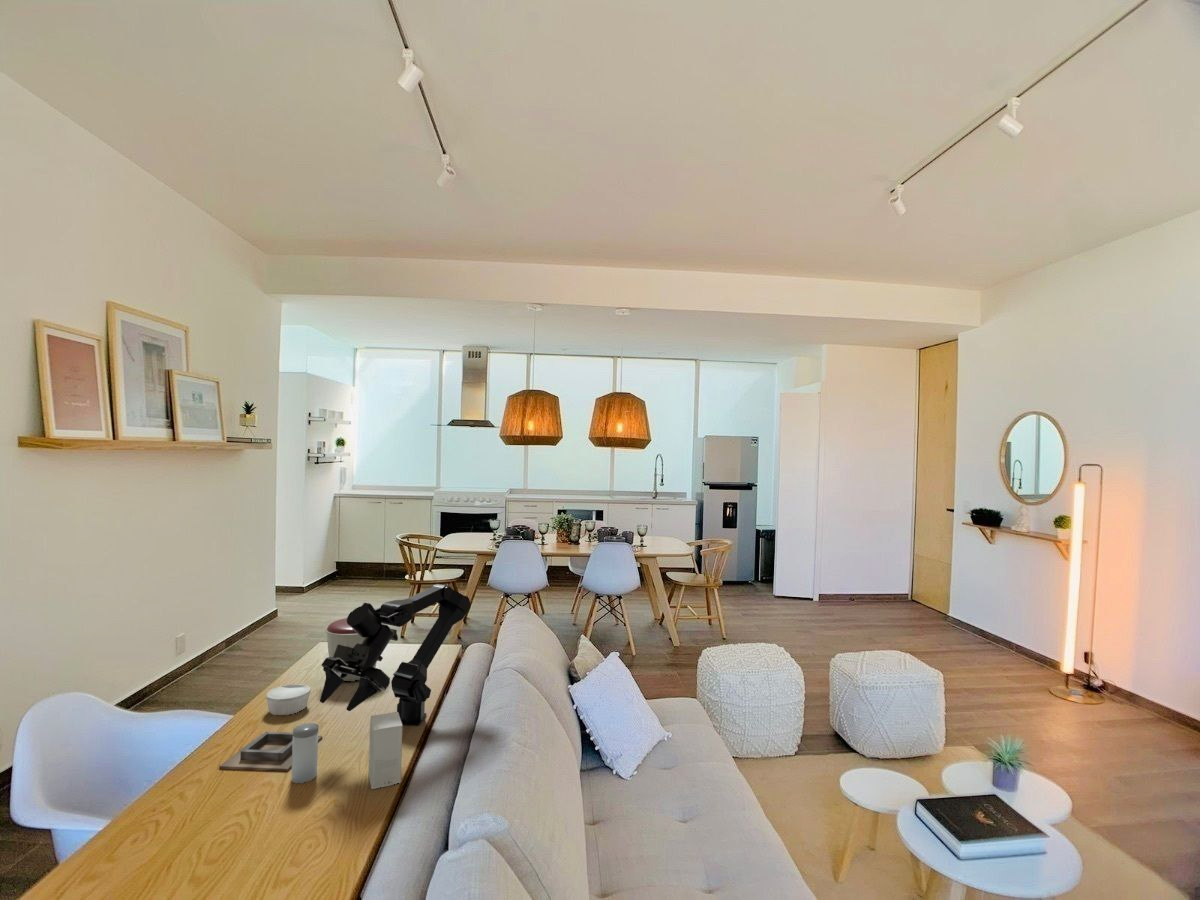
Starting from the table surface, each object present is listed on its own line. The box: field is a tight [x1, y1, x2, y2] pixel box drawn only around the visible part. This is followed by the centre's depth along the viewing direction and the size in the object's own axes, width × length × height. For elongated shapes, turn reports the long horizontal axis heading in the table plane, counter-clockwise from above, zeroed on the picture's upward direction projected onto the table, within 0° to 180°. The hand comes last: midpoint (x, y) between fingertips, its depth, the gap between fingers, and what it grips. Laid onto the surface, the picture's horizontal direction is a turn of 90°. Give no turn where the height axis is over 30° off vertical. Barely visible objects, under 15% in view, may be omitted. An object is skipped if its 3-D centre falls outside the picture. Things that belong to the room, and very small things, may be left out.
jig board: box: [218, 731, 323, 772], centre depth 142 cm, size 16×16×3 cm
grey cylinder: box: [290, 722, 319, 784], centre depth 132 cm, size 5×5×11 cm
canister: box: [324, 617, 385, 682], centre depth 192 cm, size 18×18×21 cm
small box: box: [367, 711, 404, 790], centre depth 133 cm, size 8×6×13 cm
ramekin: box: [265, 683, 312, 716], centre depth 166 cm, size 11×11×5 cm
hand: (334, 706), depth 139 cm, fingers open, 9 cm apart
